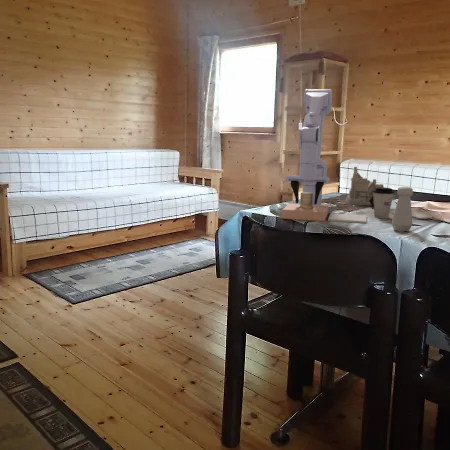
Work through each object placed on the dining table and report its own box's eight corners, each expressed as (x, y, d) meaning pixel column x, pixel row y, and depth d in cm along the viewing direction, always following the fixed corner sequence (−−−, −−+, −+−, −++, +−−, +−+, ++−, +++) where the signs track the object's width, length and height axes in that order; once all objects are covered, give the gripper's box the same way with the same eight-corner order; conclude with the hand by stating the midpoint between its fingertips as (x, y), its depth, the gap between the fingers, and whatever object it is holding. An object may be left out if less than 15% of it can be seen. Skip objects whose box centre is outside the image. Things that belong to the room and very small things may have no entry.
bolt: (380, 218, 169) (373, 209, 183) (393, 211, 167) (385, 204, 182) (373, 204, 168) (366, 197, 182) (386, 197, 167) (379, 191, 181)
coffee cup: (366, 216, 160) (368, 187, 158) (378, 214, 165) (380, 186, 163) (384, 219, 155) (387, 189, 153) (396, 217, 160) (398, 188, 158)
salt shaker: (388, 231, 137) (392, 187, 135) (393, 227, 142) (397, 185, 139) (409, 233, 134) (413, 188, 131) (413, 230, 139) (418, 187, 136)
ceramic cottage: (343, 203, 188) (348, 166, 185) (346, 199, 203) (350, 165, 201) (384, 208, 183) (389, 170, 181) (383, 204, 199) (388, 169, 196)
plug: (300, 214, 162) (301, 192, 160) (312, 215, 161) (313, 192, 159) (299, 216, 158) (300, 193, 156) (310, 217, 157) (312, 194, 155)
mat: (330, 214, 163) (330, 213, 163) (366, 216, 159) (366, 215, 159) (328, 220, 152) (328, 219, 151) (366, 223, 148) (366, 221, 148)
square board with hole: (288, 211, 168) (288, 203, 167) (327, 214, 164) (328, 205, 163) (282, 218, 155) (282, 209, 154) (324, 221, 151) (325, 212, 150)
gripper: (284, 163, 154) (283, 203, 157) (329, 165, 150) (326, 206, 153) (288, 162, 161) (286, 201, 163) (330, 163, 157) (328, 203, 159)
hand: (306, 203), depth 158 cm, fingers open, 6 cm apart
